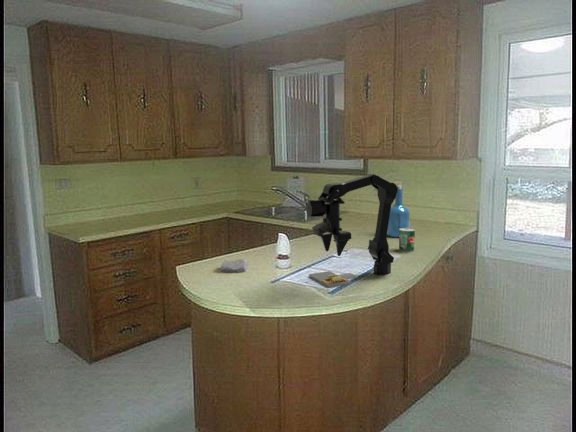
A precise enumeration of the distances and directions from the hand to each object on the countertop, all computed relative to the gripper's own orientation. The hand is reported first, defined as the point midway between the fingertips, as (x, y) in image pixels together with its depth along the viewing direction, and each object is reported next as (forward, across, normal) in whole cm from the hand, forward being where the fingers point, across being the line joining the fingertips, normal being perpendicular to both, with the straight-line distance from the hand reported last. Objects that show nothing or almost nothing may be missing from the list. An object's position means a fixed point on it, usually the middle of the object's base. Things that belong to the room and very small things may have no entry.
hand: (332, 253), depth 190 cm
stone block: (+12, -38, -29) cm, 49 cm away
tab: (+12, -1, +8) cm, 14 cm away
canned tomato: (+12, -29, +62) cm, 69 cm away
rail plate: (+12, 0, -2) cm, 12 cm away
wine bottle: (+12, -60, +82) cm, 102 cm away
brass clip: (+12, +5, -2) cm, 13 cm away
